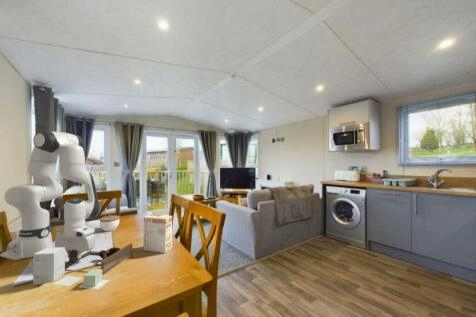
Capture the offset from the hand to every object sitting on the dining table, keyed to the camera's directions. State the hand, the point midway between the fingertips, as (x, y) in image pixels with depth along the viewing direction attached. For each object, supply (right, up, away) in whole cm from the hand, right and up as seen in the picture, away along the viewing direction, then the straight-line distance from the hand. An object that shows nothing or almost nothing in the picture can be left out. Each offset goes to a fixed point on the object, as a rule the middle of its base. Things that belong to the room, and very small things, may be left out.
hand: (74, 257), depth 102 cm
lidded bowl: (-12, -3, +47) cm, 49 cm away
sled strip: (+12, -2, -2) cm, 13 cm away
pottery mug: (+18, -3, 0) cm, 19 cm away
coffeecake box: (+37, -3, +15) cm, 40 cm away
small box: (+2, -2, -16) cm, 16 cm away
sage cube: (+24, -1, -19) cm, 31 cm away
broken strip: (+18, -2, -19) cm, 26 cm away
